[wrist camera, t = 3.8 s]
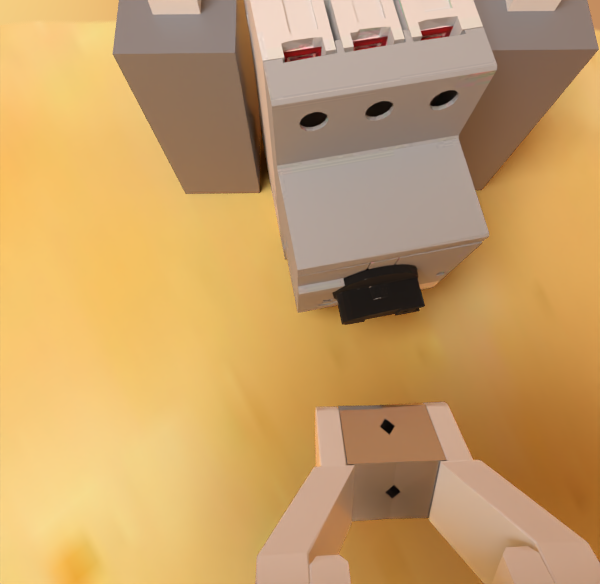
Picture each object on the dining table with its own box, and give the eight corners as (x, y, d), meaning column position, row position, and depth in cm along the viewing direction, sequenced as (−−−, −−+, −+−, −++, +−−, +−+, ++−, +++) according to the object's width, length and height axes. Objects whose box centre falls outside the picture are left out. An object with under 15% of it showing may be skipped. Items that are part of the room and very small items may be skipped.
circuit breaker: (303, 352, 27) (308, 286, 12) (263, 150, 30) (232, -85, 16) (421, 329, 27) (562, 239, 13) (368, 133, 31) (431, -112, 16)
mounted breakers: (481, 190, 30) (619, 24, 17) (185, 193, 30) (99, 29, 17) (464, 67, 32) (573, -157, 20) (192, 69, 32) (123, -154, 19)
